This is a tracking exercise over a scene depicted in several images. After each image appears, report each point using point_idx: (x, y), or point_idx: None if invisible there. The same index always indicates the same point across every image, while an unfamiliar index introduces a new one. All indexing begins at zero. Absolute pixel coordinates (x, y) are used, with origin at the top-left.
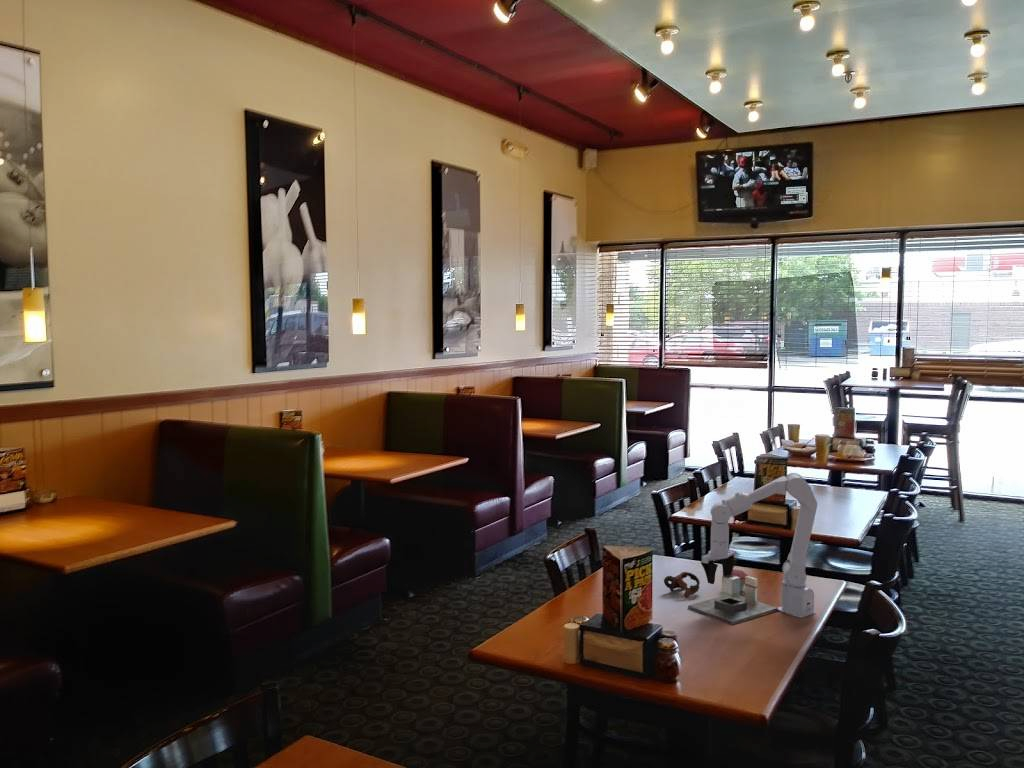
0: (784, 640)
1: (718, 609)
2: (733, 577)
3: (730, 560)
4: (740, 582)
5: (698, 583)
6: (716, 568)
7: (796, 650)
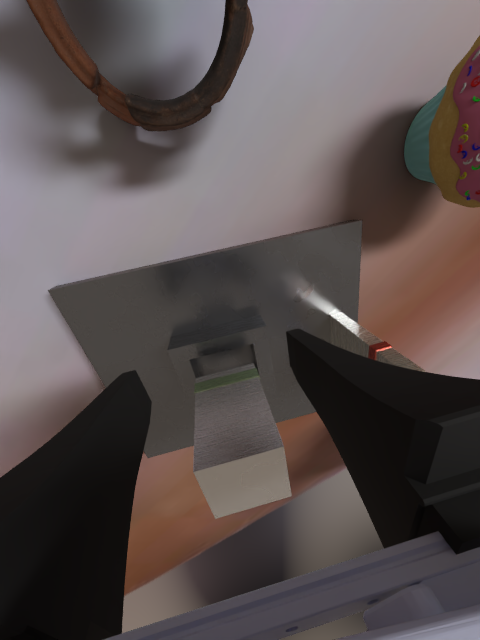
0: (212, 521)
1: (166, 368)
2: (254, 492)
3: (392, 538)
4: (455, 202)
5: (213, 88)
6: (120, 570)
7: (200, 550)
